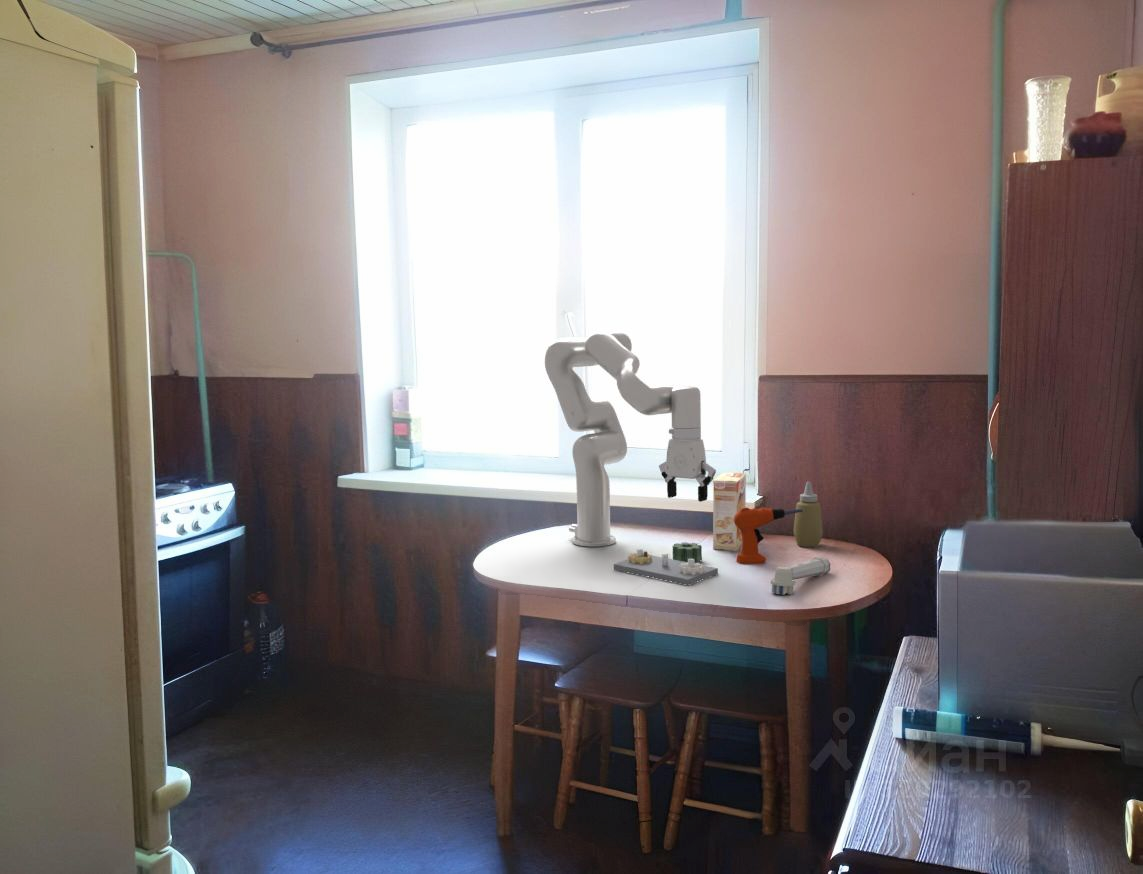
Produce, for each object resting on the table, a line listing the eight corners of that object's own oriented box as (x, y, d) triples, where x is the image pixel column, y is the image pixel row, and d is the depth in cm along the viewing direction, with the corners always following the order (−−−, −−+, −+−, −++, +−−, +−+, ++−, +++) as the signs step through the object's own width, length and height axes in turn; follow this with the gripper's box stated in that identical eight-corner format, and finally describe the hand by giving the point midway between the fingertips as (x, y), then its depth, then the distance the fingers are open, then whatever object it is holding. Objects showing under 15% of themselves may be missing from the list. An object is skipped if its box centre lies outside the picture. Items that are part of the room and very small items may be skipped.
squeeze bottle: (791, 547, 247) (791, 483, 244) (795, 541, 254) (795, 479, 252) (821, 549, 243) (821, 485, 241) (824, 543, 251) (825, 480, 249)
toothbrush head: (833, 558, 220) (788, 566, 201) (831, 585, 220) (786, 595, 201) (813, 555, 223) (767, 563, 204) (812, 581, 223) (765, 591, 204)
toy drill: (810, 557, 230) (804, 501, 228) (739, 567, 230) (731, 511, 228) (805, 552, 235) (798, 497, 233) (735, 562, 235) (728, 508, 233)
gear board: (613, 569, 227) (613, 552, 227) (644, 559, 237) (644, 543, 236) (688, 585, 212) (687, 567, 211) (717, 574, 221) (717, 556, 221)
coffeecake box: (737, 551, 244) (737, 481, 241) (712, 549, 246) (712, 480, 244) (746, 539, 258) (746, 472, 255) (722, 537, 260) (722, 471, 258)
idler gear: (667, 561, 235) (667, 546, 234) (683, 555, 240) (683, 541, 240) (690, 565, 230) (690, 550, 229) (706, 559, 235) (706, 545, 235)
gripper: (651, 433, 234) (652, 497, 236) (706, 437, 222) (706, 504, 224) (667, 431, 239) (668, 493, 241) (722, 434, 228) (723, 500, 230)
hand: (687, 498), depth 233 cm, fingers open, 9 cm apart
